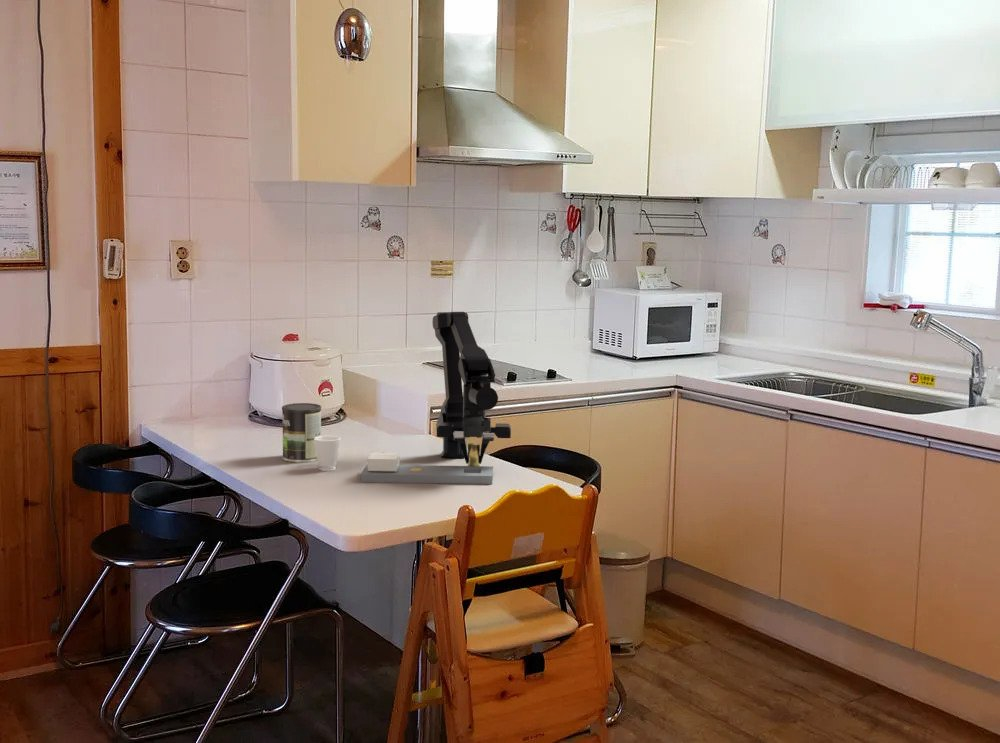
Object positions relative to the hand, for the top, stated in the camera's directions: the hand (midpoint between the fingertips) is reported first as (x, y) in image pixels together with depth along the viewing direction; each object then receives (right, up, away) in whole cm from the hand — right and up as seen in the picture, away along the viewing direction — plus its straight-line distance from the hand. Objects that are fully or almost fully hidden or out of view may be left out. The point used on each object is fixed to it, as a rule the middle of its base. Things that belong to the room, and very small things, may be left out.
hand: (473, 463), depth 263 cm
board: (-11, -3, -7) cm, 14 cm away
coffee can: (-46, 0, +12) cm, 47 cm away
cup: (-38, -1, +2) cm, 38 cm away
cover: (-22, 0, -8) cm, 23 cm away
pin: (0, -1, 0) cm, 1 cm away
